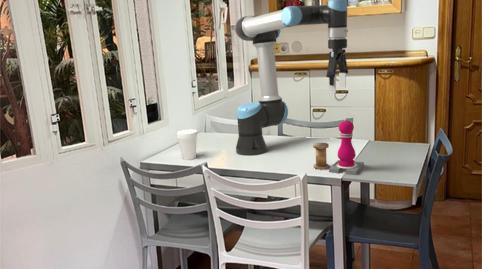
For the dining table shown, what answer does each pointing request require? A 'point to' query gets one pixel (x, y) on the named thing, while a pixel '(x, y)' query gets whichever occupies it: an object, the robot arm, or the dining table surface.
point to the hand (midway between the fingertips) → (337, 90)
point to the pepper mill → (346, 144)
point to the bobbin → (321, 156)
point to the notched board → (347, 168)
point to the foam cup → (187, 143)
